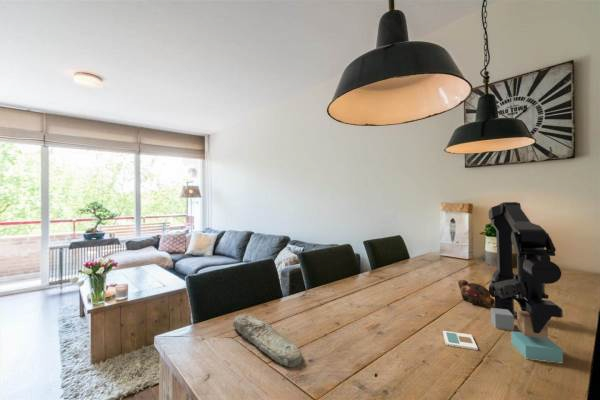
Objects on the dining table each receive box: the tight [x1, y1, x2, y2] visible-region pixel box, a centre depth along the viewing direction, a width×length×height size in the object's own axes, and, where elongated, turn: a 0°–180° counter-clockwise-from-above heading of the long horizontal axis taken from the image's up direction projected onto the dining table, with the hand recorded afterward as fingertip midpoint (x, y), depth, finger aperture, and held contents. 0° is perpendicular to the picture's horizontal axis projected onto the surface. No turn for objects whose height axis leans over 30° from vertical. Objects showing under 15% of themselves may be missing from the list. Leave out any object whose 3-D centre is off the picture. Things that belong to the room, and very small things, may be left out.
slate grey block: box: [490, 307, 515, 331], centre depth 89 cm, size 5×5×5 cm
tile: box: [442, 330, 479, 351], centre depth 81 cm, size 8×8×1 cm
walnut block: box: [516, 310, 549, 339], centre depth 74 cm, size 5×5×5 cm
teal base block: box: [510, 330, 564, 363], centre depth 74 cm, size 8×8×4 cm
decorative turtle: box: [457, 279, 495, 306], centre depth 110 cm, size 10×15×8 cm, turn 22°
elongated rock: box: [232, 314, 303, 368], centre depth 84 cm, size 35×5×10 cm
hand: (532, 328), depth 74 cm, fingers closed on walnut block, 5 cm apart
